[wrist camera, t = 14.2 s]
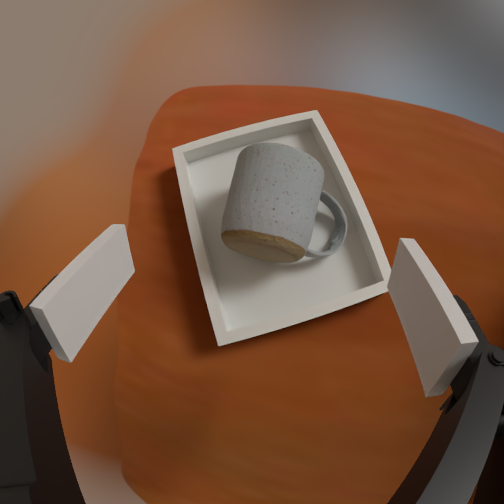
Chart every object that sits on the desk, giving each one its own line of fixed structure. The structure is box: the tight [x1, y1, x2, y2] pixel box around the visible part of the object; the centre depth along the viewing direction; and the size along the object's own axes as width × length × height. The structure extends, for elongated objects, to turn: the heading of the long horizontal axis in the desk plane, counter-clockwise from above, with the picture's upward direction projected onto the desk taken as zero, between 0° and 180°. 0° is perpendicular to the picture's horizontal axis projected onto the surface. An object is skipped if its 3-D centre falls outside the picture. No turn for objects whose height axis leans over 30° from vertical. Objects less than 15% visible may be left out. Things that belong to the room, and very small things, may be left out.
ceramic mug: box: [221, 143, 347, 263], centre depth 24 cm, size 11×8×8 cm
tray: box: [172, 110, 391, 346], centre depth 27 cm, size 16×20×3 cm
